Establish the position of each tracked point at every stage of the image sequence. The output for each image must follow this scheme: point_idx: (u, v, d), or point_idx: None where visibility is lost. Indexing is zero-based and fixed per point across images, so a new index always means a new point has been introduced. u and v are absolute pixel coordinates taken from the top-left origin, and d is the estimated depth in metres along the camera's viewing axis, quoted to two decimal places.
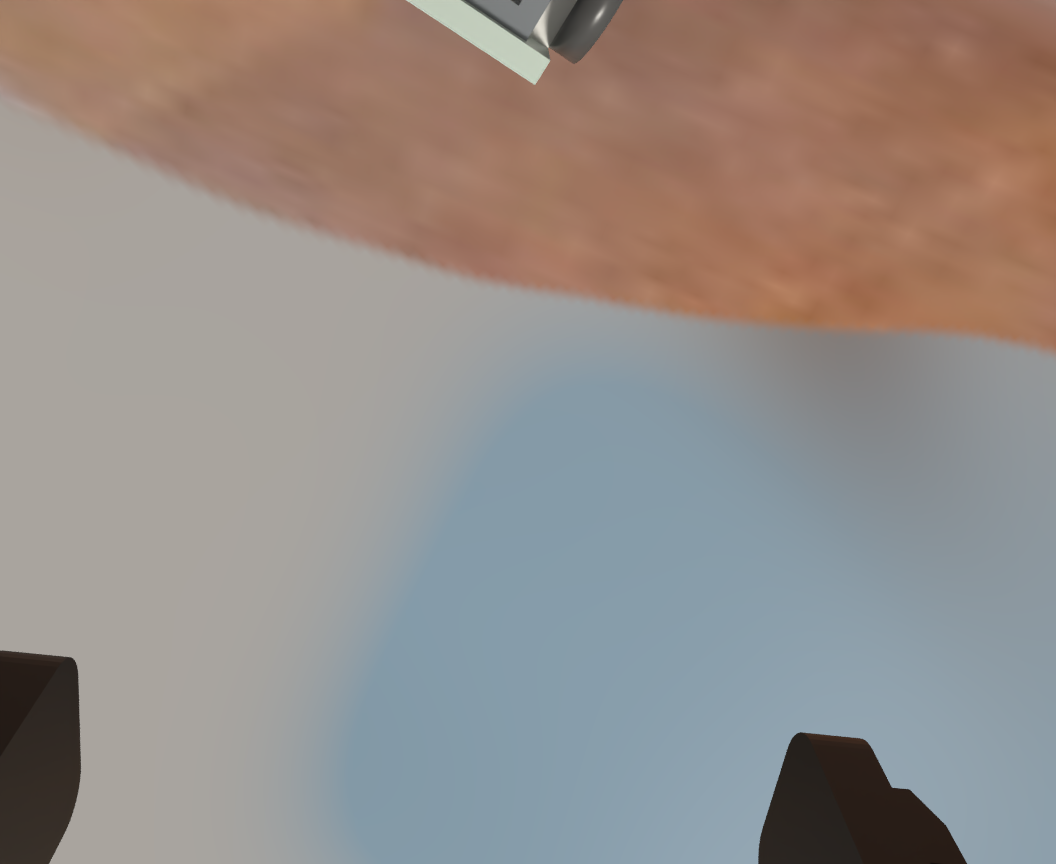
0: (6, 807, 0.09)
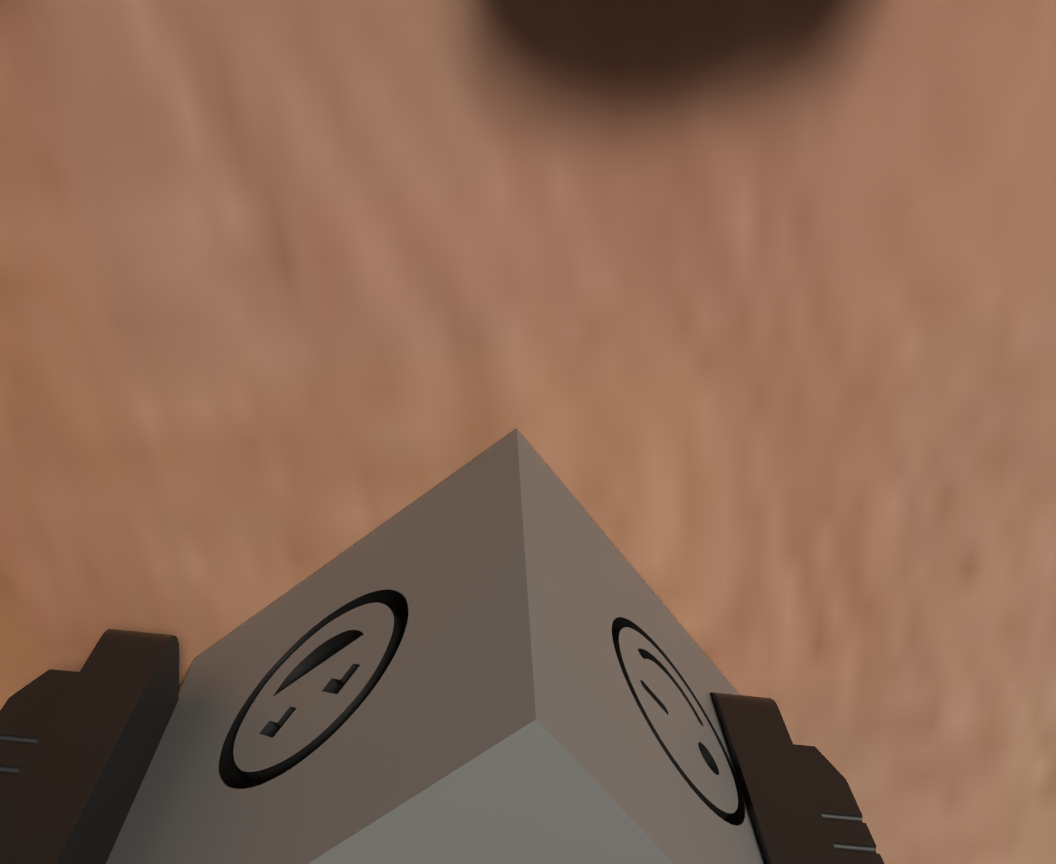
0: (128, 773, 0.10)
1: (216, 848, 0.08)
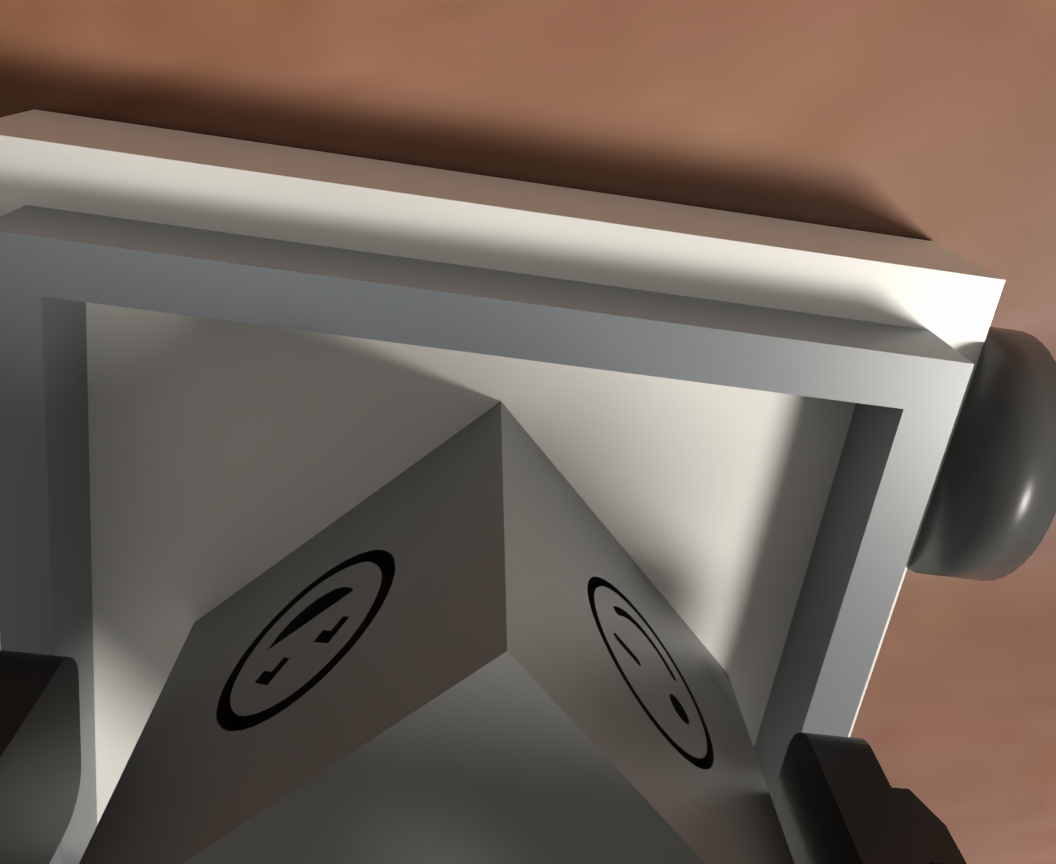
0: (7, 806, 0.09)
1: (214, 783, 0.09)
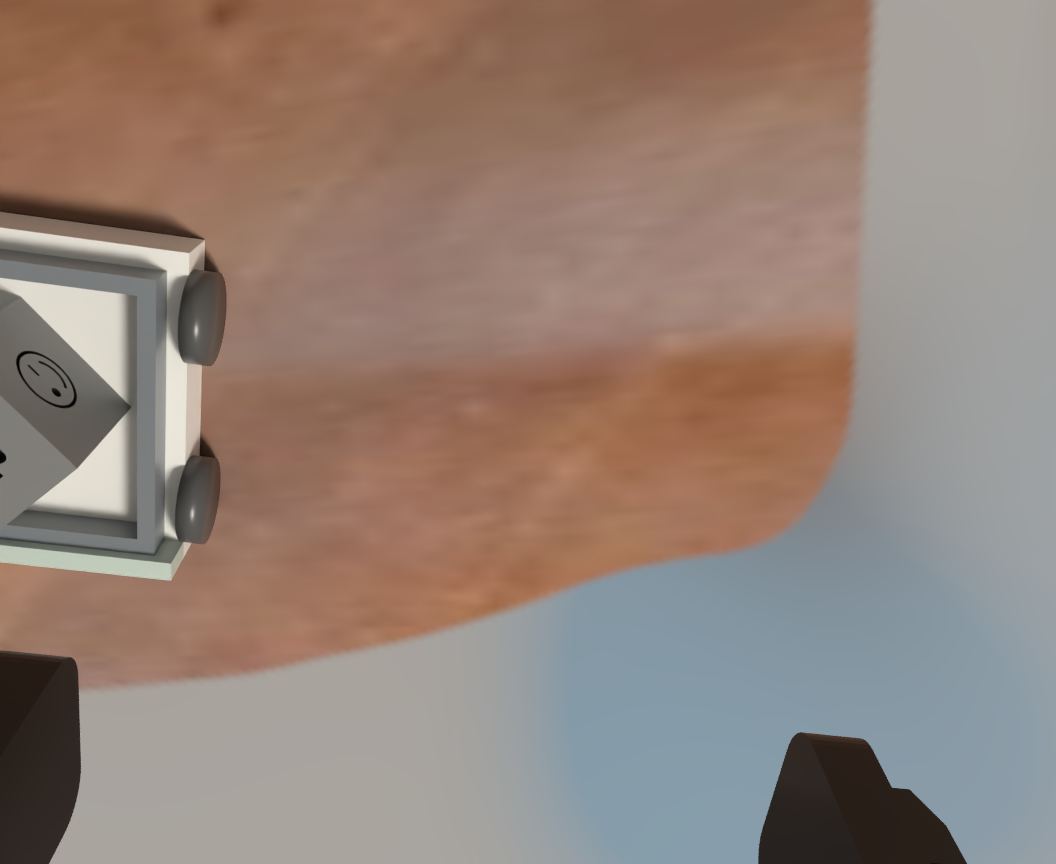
0: (6, 806, 0.09)
1: None
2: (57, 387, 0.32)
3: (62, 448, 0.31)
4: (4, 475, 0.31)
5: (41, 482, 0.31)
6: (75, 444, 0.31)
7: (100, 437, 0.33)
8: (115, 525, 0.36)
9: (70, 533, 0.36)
